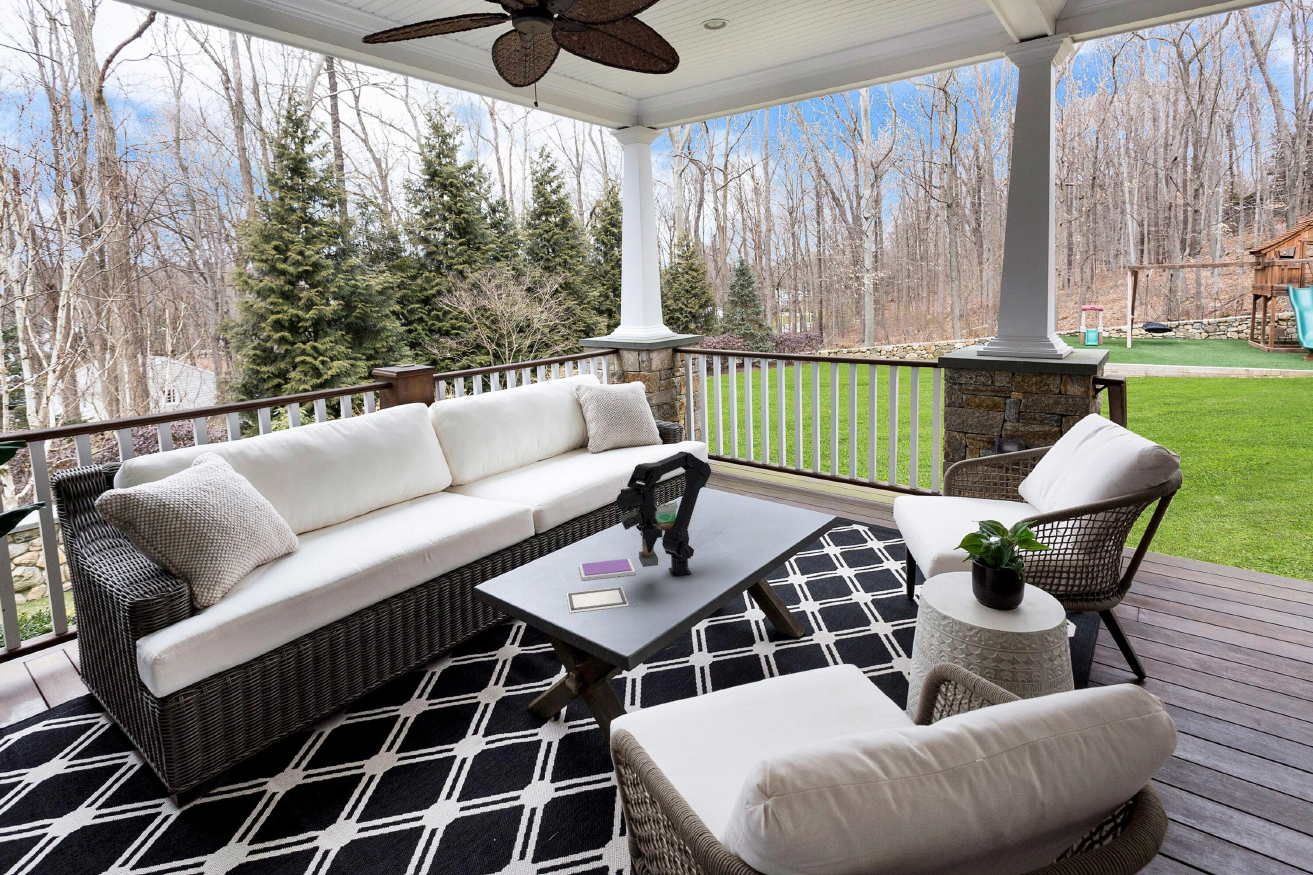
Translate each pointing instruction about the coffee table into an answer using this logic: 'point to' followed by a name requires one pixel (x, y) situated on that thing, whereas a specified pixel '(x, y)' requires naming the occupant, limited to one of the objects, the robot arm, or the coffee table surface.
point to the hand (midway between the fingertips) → (648, 550)
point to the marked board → (596, 599)
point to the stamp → (647, 556)
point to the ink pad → (606, 569)
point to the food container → (666, 515)
